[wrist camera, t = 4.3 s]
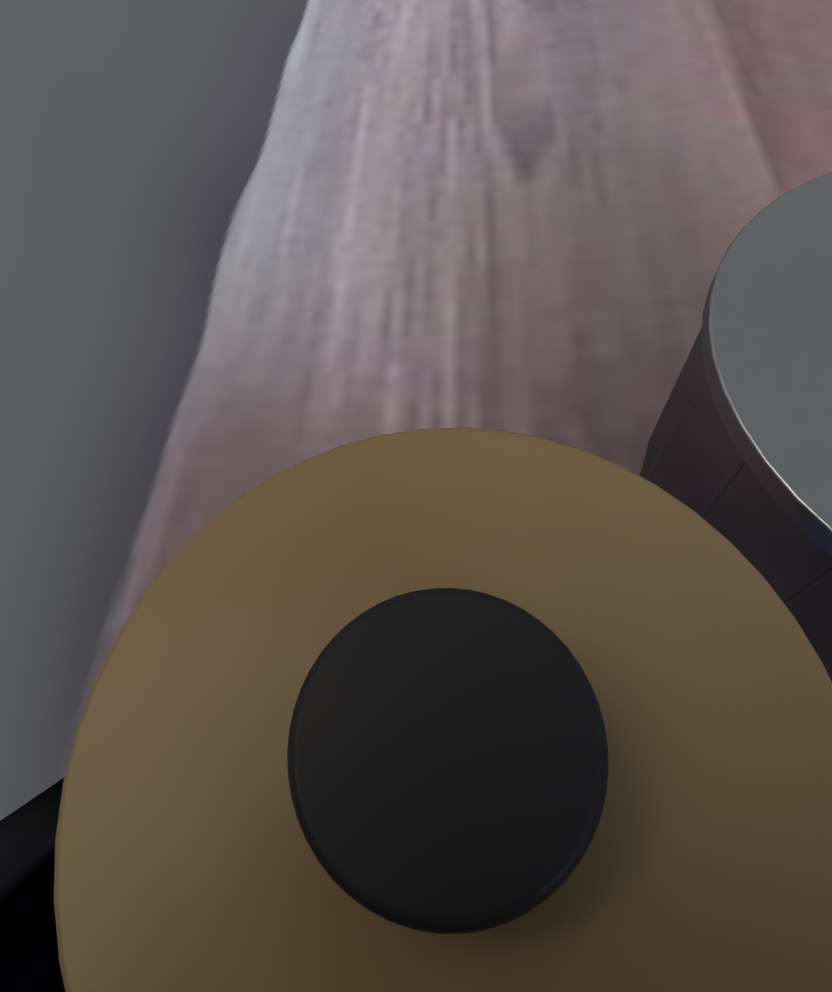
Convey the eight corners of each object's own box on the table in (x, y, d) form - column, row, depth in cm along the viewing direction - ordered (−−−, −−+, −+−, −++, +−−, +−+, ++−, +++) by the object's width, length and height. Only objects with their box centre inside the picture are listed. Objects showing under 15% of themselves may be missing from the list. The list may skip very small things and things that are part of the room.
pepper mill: (542, 982, 12) (1359, 2622, 1) (327, 890, 13) (-436, 1215, 2) (588, 742, 14) (1025, 420, 3) (399, 679, 16) (215, 266, 4)
